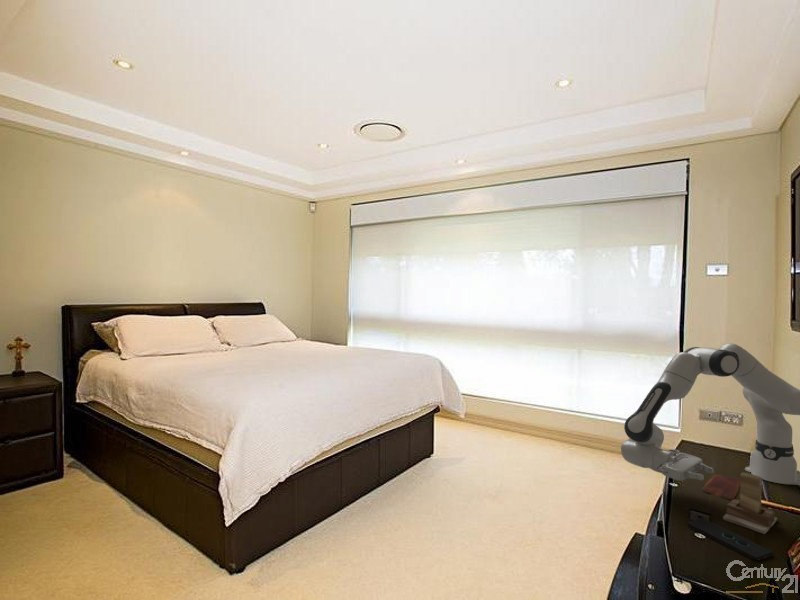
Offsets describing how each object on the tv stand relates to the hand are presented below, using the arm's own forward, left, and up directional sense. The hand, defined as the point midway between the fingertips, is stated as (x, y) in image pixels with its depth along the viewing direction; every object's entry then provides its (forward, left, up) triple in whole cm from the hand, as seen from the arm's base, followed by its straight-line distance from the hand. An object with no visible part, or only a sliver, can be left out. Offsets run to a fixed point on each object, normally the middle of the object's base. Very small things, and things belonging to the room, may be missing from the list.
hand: (708, 474), depth 155 cm
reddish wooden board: (-24, -2, -12) cm, 27 cm away
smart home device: (+21, +12, -12) cm, 27 cm away
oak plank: (0, +12, -10) cm, 16 cm away
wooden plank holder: (0, +12, -11) cm, 17 cm away
